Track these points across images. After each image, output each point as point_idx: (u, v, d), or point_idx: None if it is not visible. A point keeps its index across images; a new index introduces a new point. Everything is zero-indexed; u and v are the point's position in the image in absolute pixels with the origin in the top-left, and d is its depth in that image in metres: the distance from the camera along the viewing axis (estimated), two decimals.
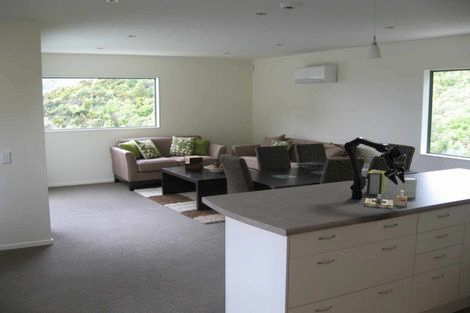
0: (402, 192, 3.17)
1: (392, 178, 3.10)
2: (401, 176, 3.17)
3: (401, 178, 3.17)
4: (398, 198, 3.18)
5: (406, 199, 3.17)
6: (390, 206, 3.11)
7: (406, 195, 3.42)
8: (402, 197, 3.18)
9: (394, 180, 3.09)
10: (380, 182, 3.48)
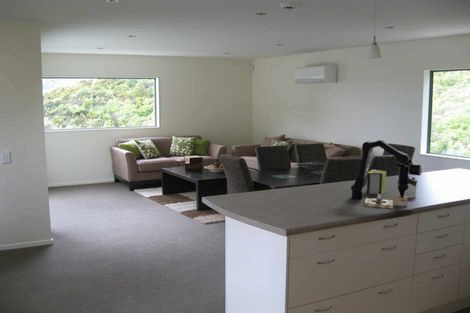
0: None
1: (401, 191, 3.16)
2: None
3: None
4: (398, 198, 3.18)
5: (406, 199, 3.17)
6: (390, 206, 3.11)
7: (406, 195, 3.42)
8: None
9: (402, 193, 3.16)
10: (380, 182, 3.48)
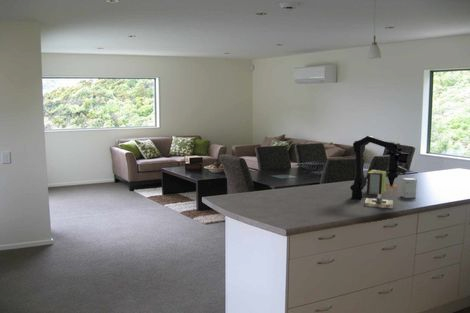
0: None
1: (391, 179, 3.15)
2: None
3: None
4: (387, 186, 3.18)
5: (395, 187, 3.16)
6: (390, 206, 3.11)
7: (406, 195, 3.42)
8: None
9: (391, 181, 3.15)
10: (380, 182, 3.48)
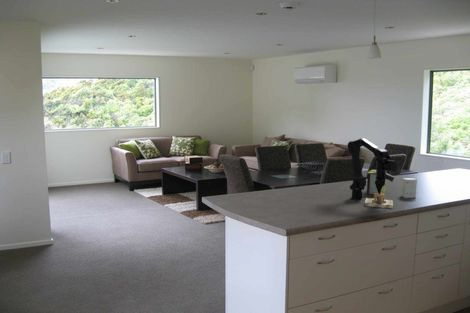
0: None
1: (379, 186, 3.15)
2: None
3: None
4: (375, 195, 3.19)
5: (383, 196, 3.17)
6: (390, 206, 3.11)
7: (406, 195, 3.42)
8: (379, 194, 3.18)
9: (379, 189, 3.15)
10: None
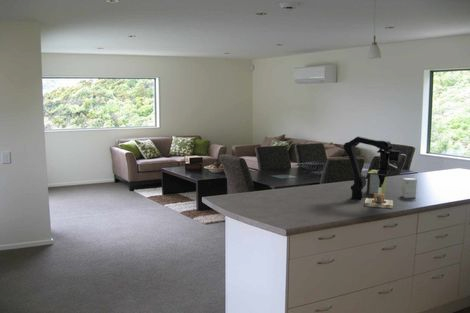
0: (379, 189, 3.17)
1: (381, 177, 3.19)
2: None
3: None
4: (375, 195, 3.19)
5: (383, 196, 3.17)
6: (390, 206, 3.11)
7: (406, 195, 3.42)
8: (379, 194, 3.18)
9: (382, 180, 3.19)
10: None
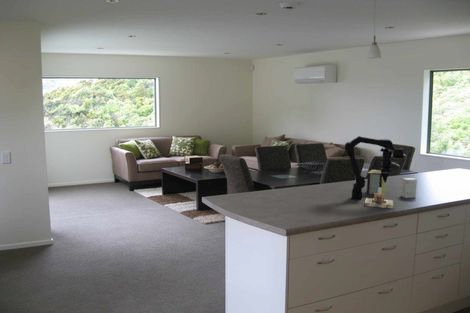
0: (379, 189, 3.17)
1: (384, 175, 3.26)
2: None
3: None
4: (375, 195, 3.19)
5: (383, 196, 3.17)
6: (390, 206, 3.11)
7: (406, 195, 3.42)
8: (379, 194, 3.18)
9: (385, 178, 3.26)
10: (380, 182, 3.48)
